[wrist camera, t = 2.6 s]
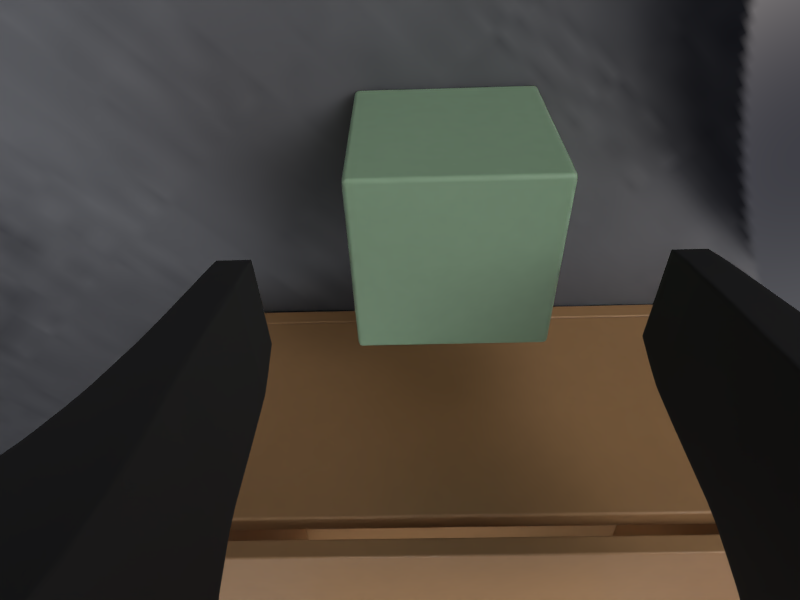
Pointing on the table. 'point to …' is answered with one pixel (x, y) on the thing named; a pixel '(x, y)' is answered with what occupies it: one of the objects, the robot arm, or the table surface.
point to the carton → (470, 471)
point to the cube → (455, 215)
